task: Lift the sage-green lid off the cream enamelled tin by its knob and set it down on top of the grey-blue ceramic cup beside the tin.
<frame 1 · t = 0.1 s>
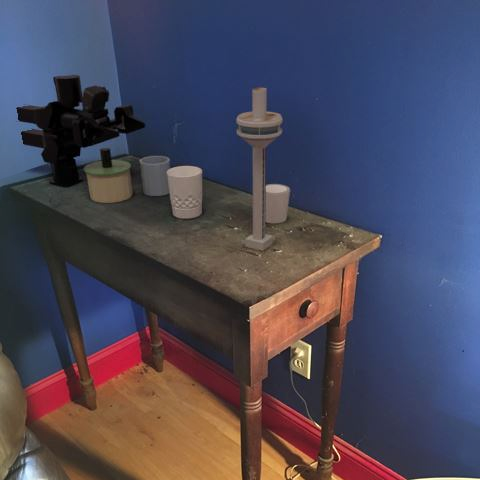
hand: (132, 129, 131), 17 cm above the table, tool horizontal, fingers open, 9 cm apart
model tower: (259, 245, 115), on the table
white cup: (187, 214, 131), on the table
cup: (157, 191, 144), on the table
tin: (111, 195, 142), on the table
shot glass: (274, 219, 127), on the table
lid: (107, 168, 138), point 7 cm above the table, touching tin
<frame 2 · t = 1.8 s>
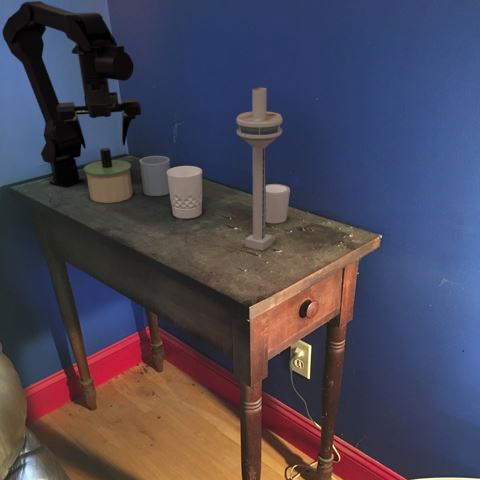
hand: (104, 146, 135), 12 cm above the table, tool pointing down, fingers open, 9 cm apart
nothing on the table moved.
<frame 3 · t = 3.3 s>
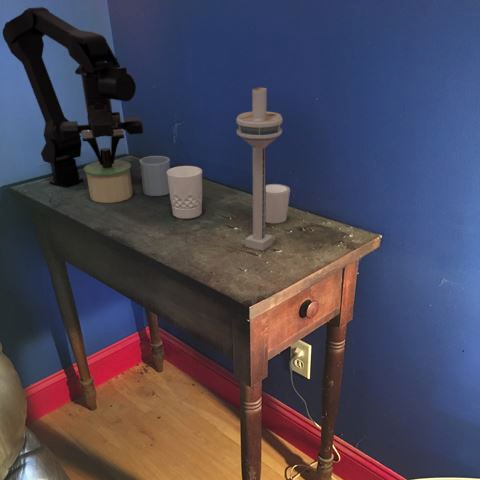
hand: (107, 164, 137), 8 cm above the table, tool pointing down, fingers closed on lid, 2 cm apart
lid: (107, 168, 138), point 7 cm above the table, touching gripper, tin
everything else where it was.
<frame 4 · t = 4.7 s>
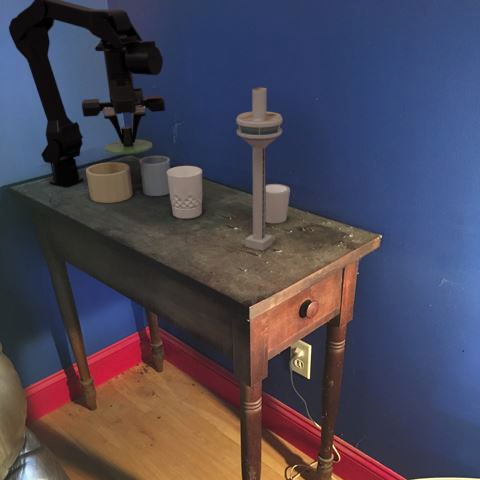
hand: (128, 142, 136), 13 cm above the table, tool pointing down, fingers closed on lid, 2 cm apart
lid: (128, 147, 136), point 12 cm above the table, touching gripper
everything else where it was.
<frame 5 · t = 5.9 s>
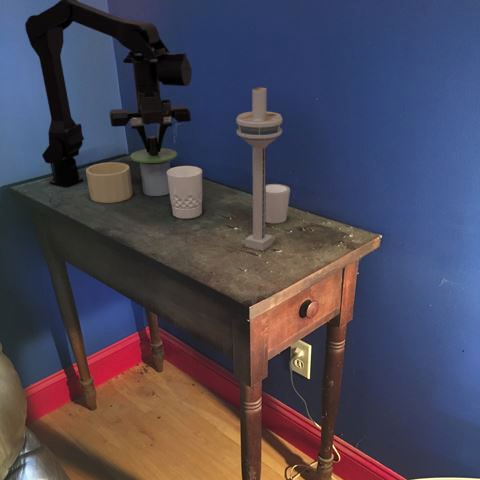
hand: (153, 151, 139), 10 cm above the table, tool pointing down, fingers closed on lid, 2 cm apart
lid: (154, 156, 139), point 9 cm above the table, touching gripper
everything else where it was.
when the fingers open (10 cm above the table, at t = 6.2 s): lid stays where it is, resting on cup.
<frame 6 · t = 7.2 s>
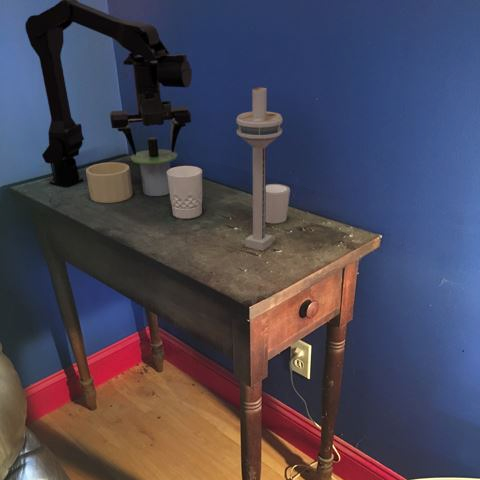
hand: (153, 153, 139), 10 cm above the table, tool pointing down, fingers open, 9 cm apart
lid: (154, 157, 139), point 9 cm above the table, touching cup
everything else where it was.
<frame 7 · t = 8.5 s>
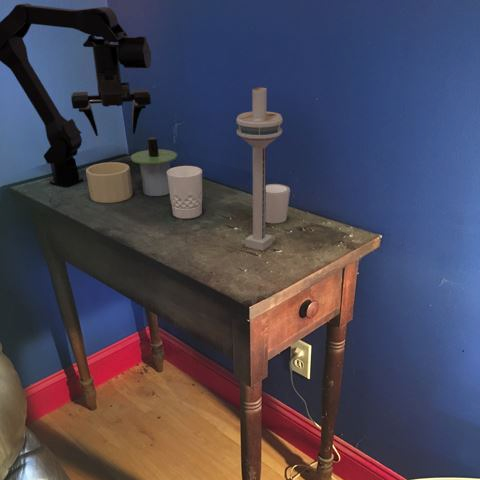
hand: (115, 134, 142), 13 cm above the table, tool pointing down, fingers open, 9 cm apart
nothing on the table moved.
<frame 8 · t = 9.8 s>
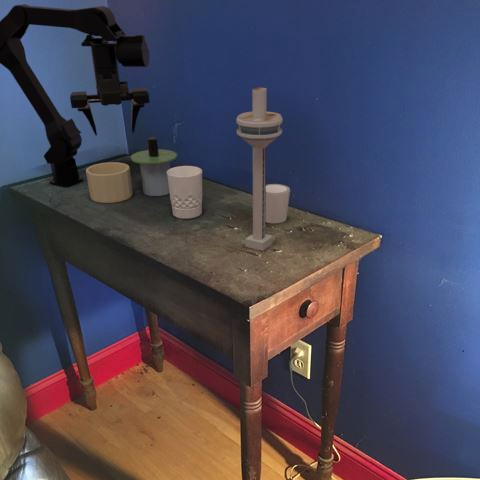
hand: (114, 133, 142), 13 cm above the table, tool pointing down, fingers open, 9 cm apart
nothing on the table moved.
at the end: lid 0.0 cm off-centre on the cup, point 8.6 cm above the cup's base; lid tilted 0°; the gripper is holding nothing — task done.
